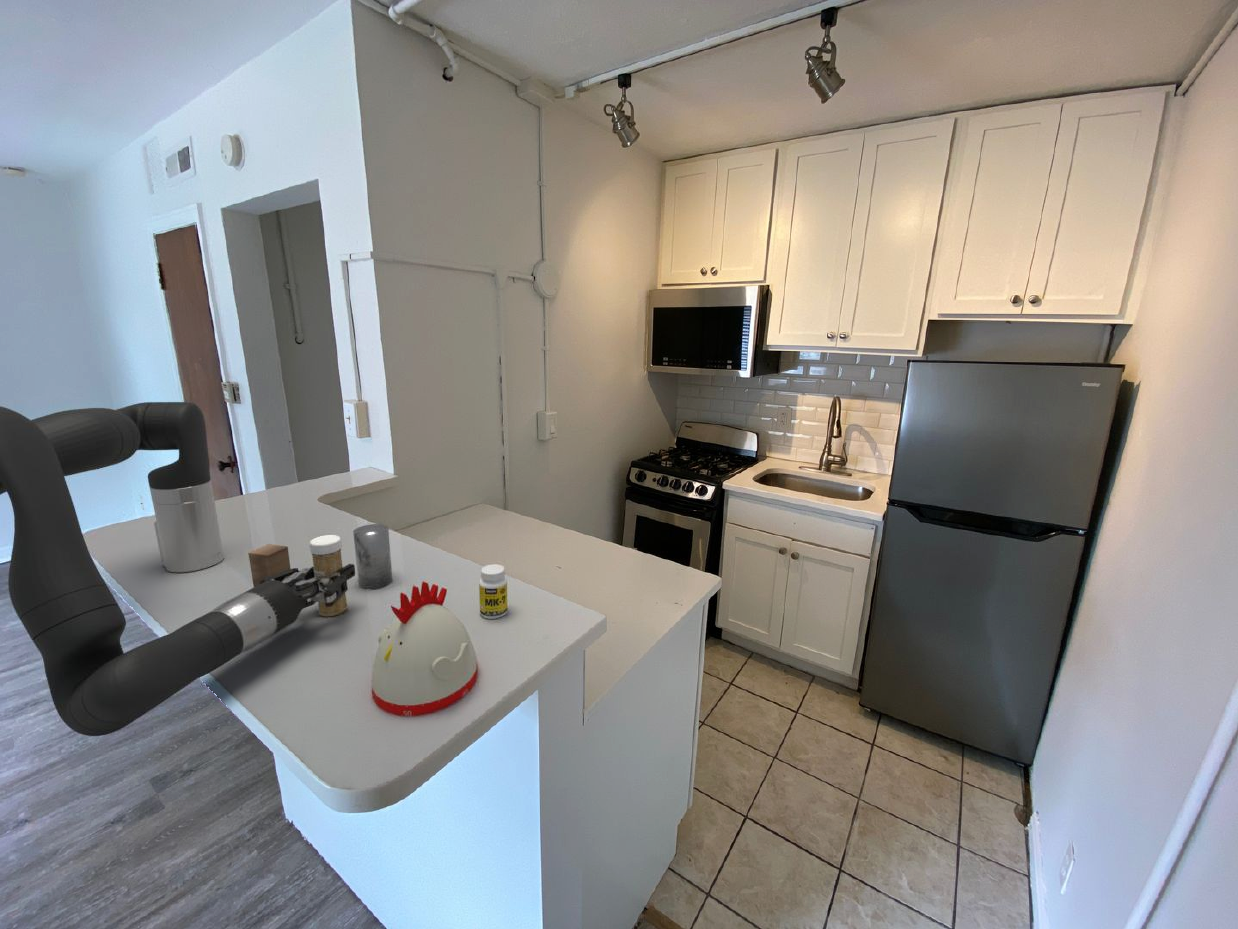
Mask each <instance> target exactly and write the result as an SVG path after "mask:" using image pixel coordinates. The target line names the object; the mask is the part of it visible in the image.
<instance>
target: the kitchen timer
mask: <svg viewBox="0 0 1238 929" xmlns="http://www.w3.org/2000/svg"><path fill="white" fill-rule="evenodd" d="M411 589H412V590H411V598H410V599H409V597H408V596H407V594H406V593H404V592H400V593H399V599H400V600H399V602H400V607H399V608H397V607H395V606H393V605H390V609H391V611H392V612H393V613H394V615H395V617H394V619H393V620H392V621H391V622H390V624H389V625H388V627H386V628H384V629H383V630H382V632H381V633H380V635H379V637H378V647H377V650H376V654H375V657H374V659H373V660H374V661H373V665H372V672H371V693H372V699H373V701H374V702H375V704H376V706H377V707H378V708H379V709H381V710H383V711H384V712H385V713H389V714H392V715H396V716H400V717H401V716H404V717H405V715H406V717H408V716H410V717H411V716H412V717H416V716H422V715H426V714H432V713H435V711H436V712H438V711H440V710H443V709H446V708H449V707H450V706H452V705H454V704H456V703H457V702H459V701H460V700H461V698H462V699H463V698H464V697H465V696H466V695H467V694H468V693H469V692H470V691H471V690H472V689H473V687H474V685H475V684H474V683H476V682H477V678H478V671H479V670H478V659H477V654H476V651H475V649H474V645H473V643H472V639H471V638H470V634H469V632H468V630H467V628H466V627H465V625H464V624H463V622H462V620H460V619H459V617H457V615H456V614H455V613H454V612H453V611H452V610H450V609H449V608H448V607H446V606H444V602H445V600H446V596H447V594H448V589H447V588H445V587H441V589H440V591H439V585H437V584H434V583H433V584H432V585H431V588H430V586H429V583H428V582H426V581H424V580H423V581H422V582H421V587H420V590H419V587H418V586H416V585H413V586H412V588H411ZM466 693H467V694H466ZM465 694H466V695H465ZM464 695H465V696H464ZM463 696H464V697H463ZM458 700H459V701H458Z"/></svg>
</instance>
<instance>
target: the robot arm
mask: <svg viewBox="0 0 1238 929" xmlns="http://www.w3.org/2000/svg"><path fill="white" fill-rule="evenodd" d="M137 451H178V459H177V460H175V461H173V462H171V463H169V464H166V465H163V466H160V467H156V468H154V469H153V470H150V471H149V472H148V474H147V482H148V486H149V491H150V497H151V502H152V505H153V512H154V515H155V521H154V524H153V525H154V531H155V535H156V539H157V540H156V541H157V546H158V550H159V555H160V559H161V565H162V567H165V569H166V571H167V572H170V573H171V572H172V573H189V572H194V571H199V570H200V571H201V570H203V569H207V568H210V567H213V566H215V565H217V564H219V563H220V562H222V561H223V560H224V558H225V555H224V549H223V543H222V537H221V530H220V525H219V518H218V513H217V507H216V502H215V496H214V490H213V484H212V480H211V479H212V478H211V472H210V471H211V470H210V467H211V466H210V465H211V464H210V455H209V448H208V438H207V426H206V420H205V416H204V414H203V411H202V410H201V408H200V407H199V405H197V404H196V403H193V402H188V401H159V402H158V401H146V402H145V401H144V402H139V403H135V404H131V405H127V406H124V407H120V408H116V409H112V408H109V407H107V408H105V407H89V408H88V407H87V408H76V409H69V410H63V411H58V412H54V413H53V412H52V413H50V414H46V415H44V416H40V417H36V418H34V419H30V418H28V417H26V416H25V415H23V414H21V413H20V412H17V411H16V410H13V409H11V408H7V407H5V406H1V405H0V496H1V495H3V494H5V493H7V495H8V498H9V500H10V502H11V506H12V507H11V508H12V511H13V517H14V518H13V520H14V525H13V526H14V527H13V528H14V533H13V543H12V550H11V555H10V561H9V563H10V564H9V569H8V570H9V571H8V579H7V580H8V582H7V584H8V592H9V593H8V594H9V598H10V601H11V604H12V607H13V609H14V611H15V613H16V614H17V617H18V620H20V622H21V623H22V626H23V627H24V629H25V631H26V632H27V634H28V636H29V637H30V639H31V641H32V643H33V644H34V646H35V647H36V648H37V650H38V652H40V655H41V657H42V662H43V666H44V671H45V672H44V673H45V677H46V681H47V685H48V688H49V692H50V696H51V699H52V702H53V705H54V707H55V710H56V712H57V715H59V717H60V718H61V720H62V722H63V723H64V724H65V725H66V726H68V728H69V729H71V730H72V731H74V732H76V733H77V734H80V735H83V736H88V737H101V736H106V735H110V734H113V733H116V732H118V731H121V730H122V729H124V728H126V727H127V726H129V725H131V724H132V723H133V722H134V721H136V720H138V719H139V718H141V717H143V716H144V715H145V714H147V713H149V712H151V711H152V710H153V709H155V708H156V707H158V706H160V705H161V704H163V703H164V702H165V701H168V699H169V698H171V697H173V696H174V695H175V694H177V693H178V692H180V691H182V690H183V689H184V688H186V687H187V686H188V685H190V684H192V682H194V681H196V680H198V679H200V678H203V677H205V676H206V675H208V674H210V673H212V672H214V671H215V670H218V669H219V668H220V667H222V666H223V665H225V664H226V663H229V662H230V661H231V660H233V659H234V658H236V657H238V656H239V655H242V654H243V653H245V652H248V651H250V650H252V649H253V648H255V647H257V646H259V645H260V644H261V643H263V642H265V641H266V640H268V639H269V638H271V637H273V636H274V635H276V634H277V633H279V632H280V631H282V630H284V629H285V628H287V627H288V626H291V625H292V624H293V623H294V622H295V621H297V619H298V617H299V615H300V614H301V613H302V611H303V609H306V608H309V607H311V606H314V605H315V604H316V603H318V602H325V606H326V607H331V606H333V605H334V604H335V603H336V602H337V601H338V600H339V599H340V598H341V596H342V595H343V594H344V593H345V594H346V593H347V591H348V590H349V589H348V581H349V580H350V579H351V578H353V577H355V576H356V568H355V567H356V566H355V564H354V563H348V564H347V565H345V566H343V568H341V569H339V570H338V571H336V572H335V573H332V574H330V575H327V576H323V575H320V576H317V577H314V565H313V566H311V567H305V568H302V569H301V570H299V567H298V568H297V567H294V568H291V569H290V570H287V571H284V572H282V573H279V574H276V575H273V576H270V577H267V578H265V579H262V580H260V581H259V585H258V586H256V587H254V586H253V587H252V588H251V589H249V590H246V591H244V592H242V593H240V594H238V595H236V596H235V597H233V598H230V599H228V600H226V601H225V602H223V603H221V604H220V605H218V606H217V607H215V608H214V609H213V610H211V611H209V612H207V613H205V614H204V615H202V616H200V617H198V618H197V617H196V619H194V620H192V621H190V622H188V623H186V624H184V625H182V626H180V627H179V628H176V630H174V631H172V632H170V633H167V634H165V635H163V636H160V637H157V638H155V639H153V640H150V641H147V642H145V643H143V644H141V645H139V646H137V647H134V648H132V649H130V650H128V651H126V652H124V650H123V648H122V644H121V637H122V635H123V634H124V631H125V628H126V625H127V621H126V617H125V615H124V613H123V610H122V609H121V607H120V605H119V603H118V602H117V600H116V598H115V597H114V595H113V593H112V592H111V590H110V588H109V587H108V585H107V583H106V582H105V579H104V577H103V576H102V575H101V573H100V571H99V568H98V567H97V565H96V564H95V562H94V560H93V556H92V555H91V553H90V551H89V549H88V545H87V543H86V540H85V537H84V535H83V532H82V529H81V524H80V522H79V518H78V515H77V511H76V508H75V504H74V502H73V498H72V495H71V492H70V489H69V487H68V483H67V480H66V477H69V476H72V475H77V474H82V473H86V472H89V471H95V470H100V469H104V468H107V467H112V466H114V465H118V464H120V463H121V464H122V463H123V462H125V461H127V460H129V459H130V458H131V457H133V456H134V455H135V453H136V452H137ZM289 575H291V576H290V577H289V578H288V579H285V577H287V576H289ZM330 580H332V582H333V583H332V584H331V585H330V586H328V581H330ZM318 582H319V585H318ZM319 586H320V591H319Z"/></svg>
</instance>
